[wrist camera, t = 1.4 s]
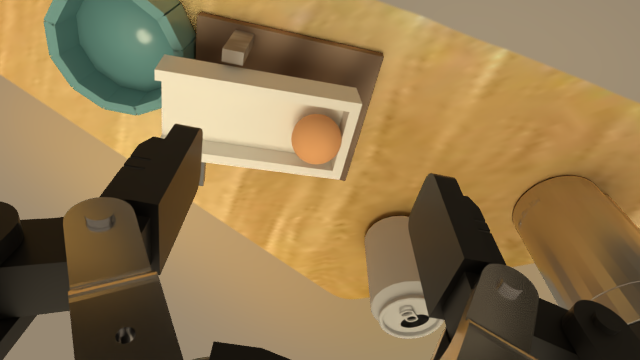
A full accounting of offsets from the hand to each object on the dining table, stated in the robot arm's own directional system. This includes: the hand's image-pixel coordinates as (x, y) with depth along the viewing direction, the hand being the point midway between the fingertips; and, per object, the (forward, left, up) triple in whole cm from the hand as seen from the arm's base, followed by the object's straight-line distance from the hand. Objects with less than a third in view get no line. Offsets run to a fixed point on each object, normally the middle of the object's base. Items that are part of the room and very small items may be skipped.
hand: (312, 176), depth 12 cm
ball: (-2, +9, -18) cm, 20 cm away
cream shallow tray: (+4, +11, -21) cm, 24 cm away
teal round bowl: (+15, +7, -26) cm, 31 cm away
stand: (+2, +10, -26) cm, 28 cm away
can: (-14, +24, -26) cm, 38 cm away
